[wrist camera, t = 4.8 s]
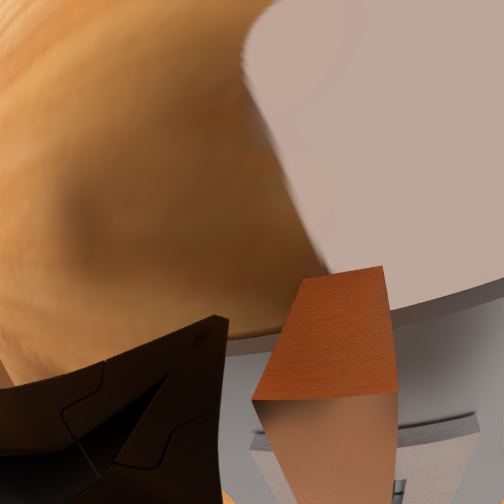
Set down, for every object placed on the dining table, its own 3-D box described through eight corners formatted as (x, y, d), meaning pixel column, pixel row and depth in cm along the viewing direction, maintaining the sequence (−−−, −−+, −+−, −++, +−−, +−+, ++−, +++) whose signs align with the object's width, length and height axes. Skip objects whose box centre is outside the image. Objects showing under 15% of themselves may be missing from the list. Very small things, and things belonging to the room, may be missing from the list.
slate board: (266, 518, 19) (251, 554, 16) (140, 349, 15) (91, 399, 11) (499, 491, 11) (503, 533, 8) (562, 255, 7) (620, 305, 3)
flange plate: (442, 504, 11) (439, 567, 7) (295, 512, 15) (275, 570, 11) (497, 243, 7) (588, 335, 2) (196, 293, 11) (104, 383, 6)
